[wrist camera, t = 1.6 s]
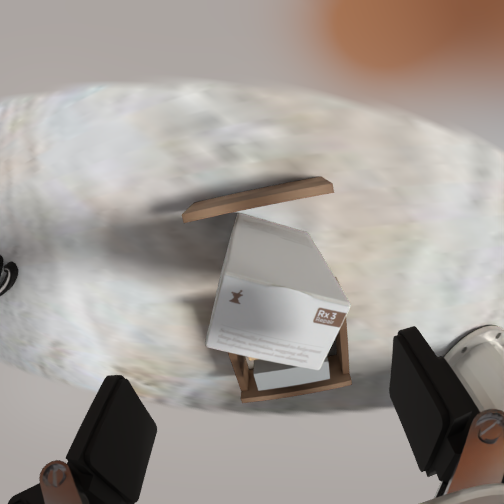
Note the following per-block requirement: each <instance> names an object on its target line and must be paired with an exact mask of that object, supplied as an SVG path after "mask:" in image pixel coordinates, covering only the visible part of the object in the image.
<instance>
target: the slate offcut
mask: <svg viewBox="0 0 504 504" xmlns="http://www.w3.org/2000/svg"><path fill="white" fill-rule="evenodd" d="M253 374H254V378H255V381H256V384H257V387H258V391H260V390H267V389H274V388H281V387H288V386H294V385H300V384H305V383H311V382H316V381H321V380H326V379H330V373H329V363H328V358H327V356H326V358H325V360H324V362H323V364H322V366H321V368H320V370H313V369H308V368H302V367H297V366H292V365H286V364H281V363H276V362H271V361H266V360H261V359H257V360H254V373H253Z"/></svg>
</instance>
